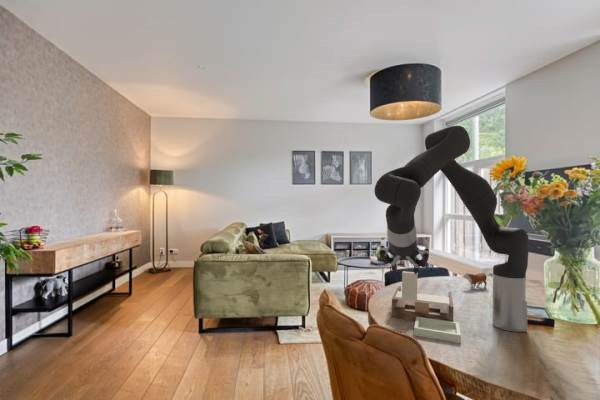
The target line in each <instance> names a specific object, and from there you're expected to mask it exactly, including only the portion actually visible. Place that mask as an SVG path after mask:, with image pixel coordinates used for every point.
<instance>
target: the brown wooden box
mask: <svg viewBox="0 0 600 400" xmlns="http://www.w3.org/2000/svg"><path fill="white" fill-rule="evenodd" d="M398 291H402V285H401V286H400V285H398V286H397V288H396V290H395V292H394V294H393V295H392V298H391V318H395V319H400V320H407V321H416V316H417V317H424V318H430V319H437V320H444V321H451V322H454V302H453V295H452V292H451V291H448V294H447V295H448V296H447V297H449V303H450V306H445V305H437V304H429V314H428V313H421V312H415V302H413V301H406V300H398V299H395V296H396V294H397V292H398Z"/></svg>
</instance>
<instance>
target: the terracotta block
mask: <svg viewBox="0 0 600 400" xmlns="http://www.w3.org/2000/svg"><path fill="white" fill-rule="evenodd" d="M415 312H421V313H428V314H429V303H421V302H415Z"/></svg>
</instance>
